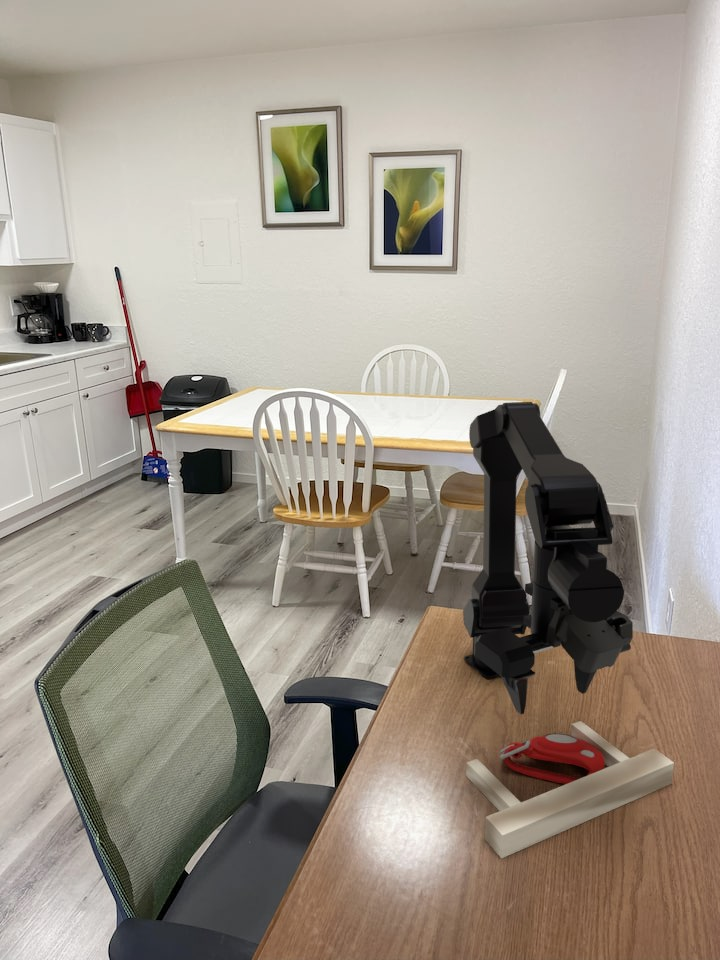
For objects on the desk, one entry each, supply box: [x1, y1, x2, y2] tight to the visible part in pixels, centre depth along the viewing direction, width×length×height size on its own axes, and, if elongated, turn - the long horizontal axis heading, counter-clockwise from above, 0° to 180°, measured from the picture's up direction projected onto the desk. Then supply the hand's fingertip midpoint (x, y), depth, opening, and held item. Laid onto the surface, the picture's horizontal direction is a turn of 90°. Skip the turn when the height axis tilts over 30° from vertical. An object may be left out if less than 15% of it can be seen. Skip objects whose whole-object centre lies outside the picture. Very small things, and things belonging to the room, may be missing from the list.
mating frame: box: [465, 720, 675, 859], centre depth 88 cm, size 12×25×3 cm, turn 116°
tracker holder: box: [499, 733, 606, 785], centre depth 91 cm, size 12×4×10 cm
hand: (551, 702), depth 87 cm, fingers open, 9 cm apart
